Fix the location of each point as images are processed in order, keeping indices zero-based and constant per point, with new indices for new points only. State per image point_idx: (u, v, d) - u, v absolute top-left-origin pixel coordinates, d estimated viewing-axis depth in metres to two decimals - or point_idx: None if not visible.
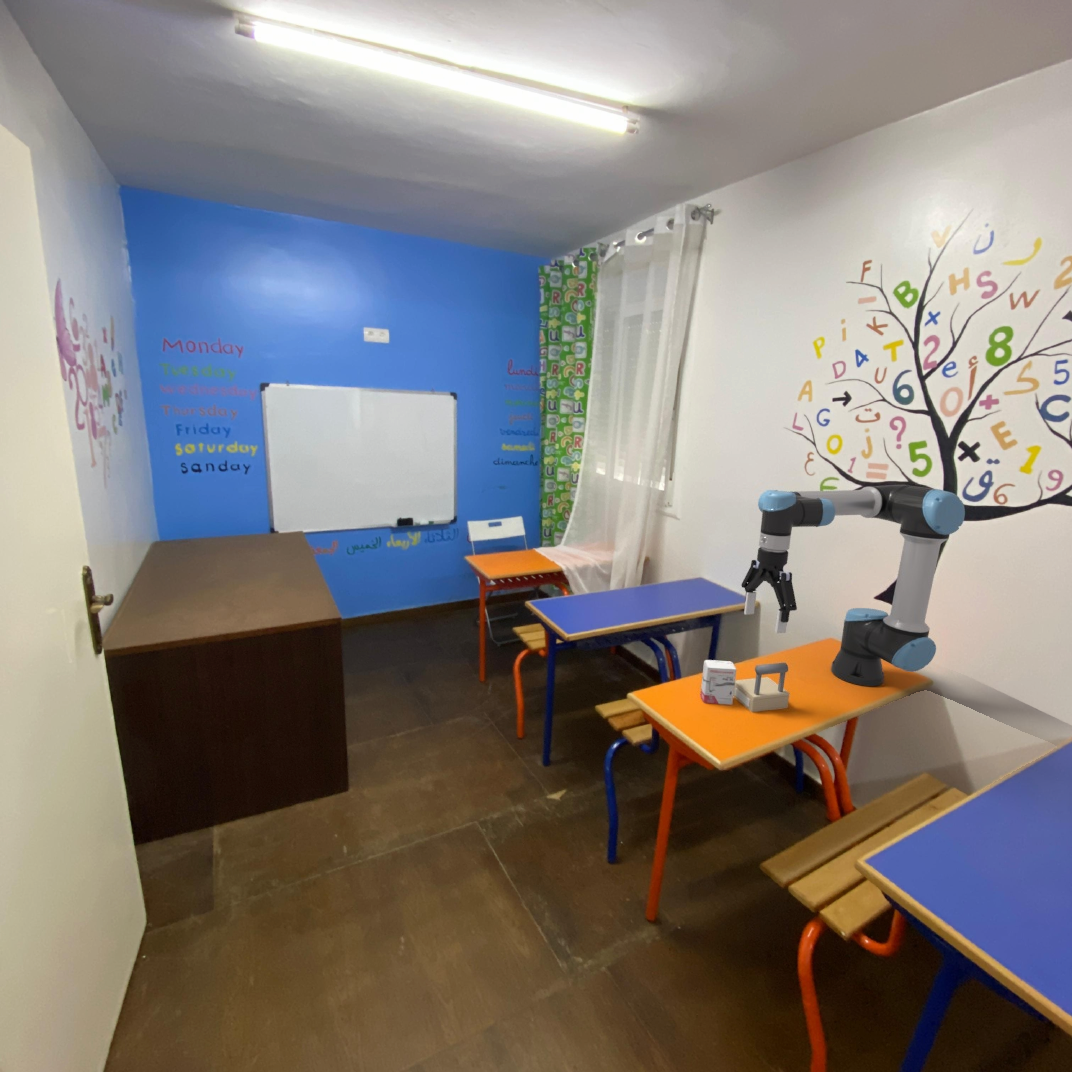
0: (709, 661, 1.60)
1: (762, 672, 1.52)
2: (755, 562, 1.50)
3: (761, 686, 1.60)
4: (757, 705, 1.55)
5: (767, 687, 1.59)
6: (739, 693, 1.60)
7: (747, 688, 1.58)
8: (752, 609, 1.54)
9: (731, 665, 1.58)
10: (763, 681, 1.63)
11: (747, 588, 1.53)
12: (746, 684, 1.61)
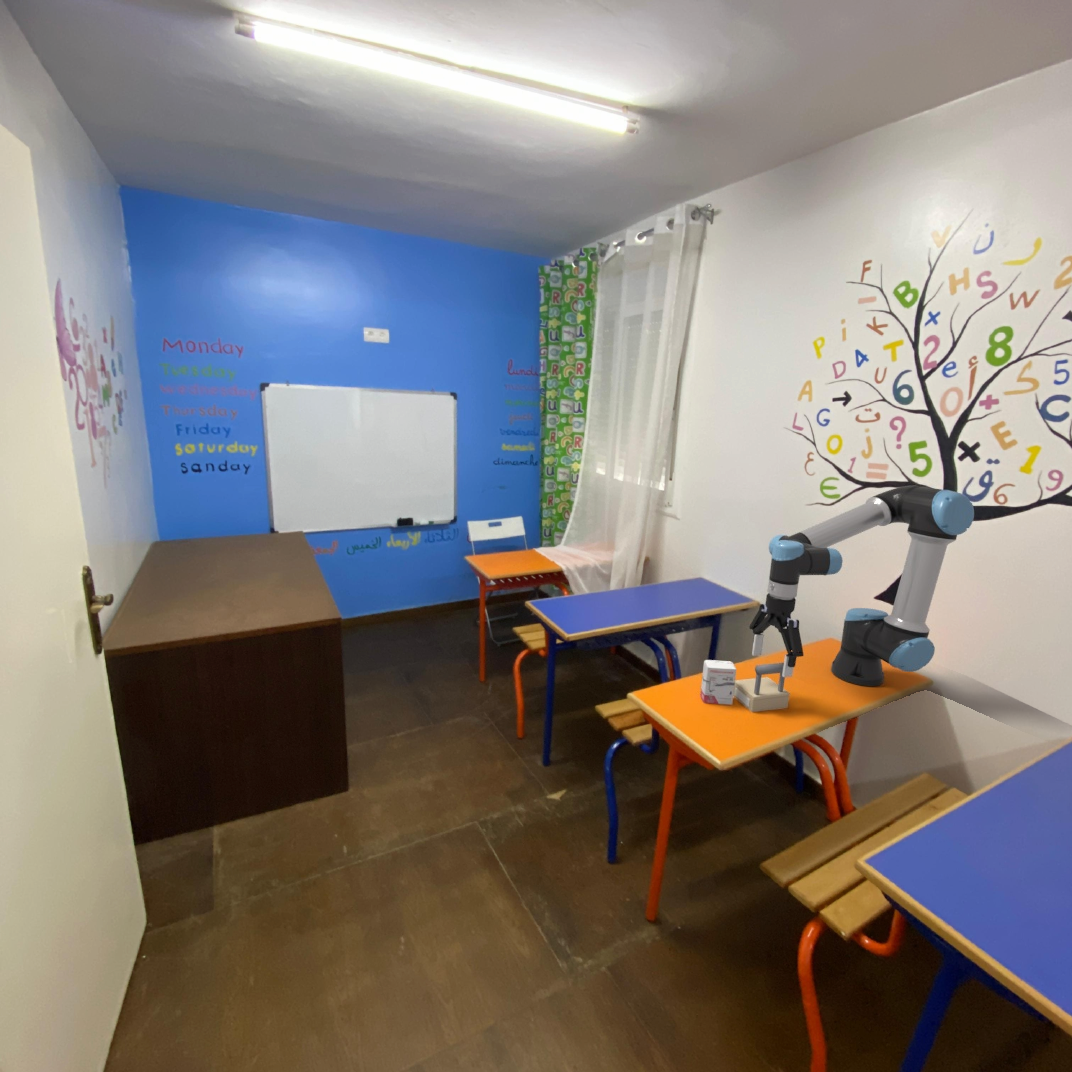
0: (709, 661, 1.60)
1: (762, 672, 1.52)
2: (763, 606, 1.56)
3: (761, 686, 1.60)
4: (757, 705, 1.55)
5: (767, 687, 1.59)
6: (739, 693, 1.60)
7: (747, 688, 1.58)
8: (760, 650, 1.60)
9: (731, 665, 1.58)
10: (763, 681, 1.63)
11: (755, 630, 1.59)
12: (746, 684, 1.61)
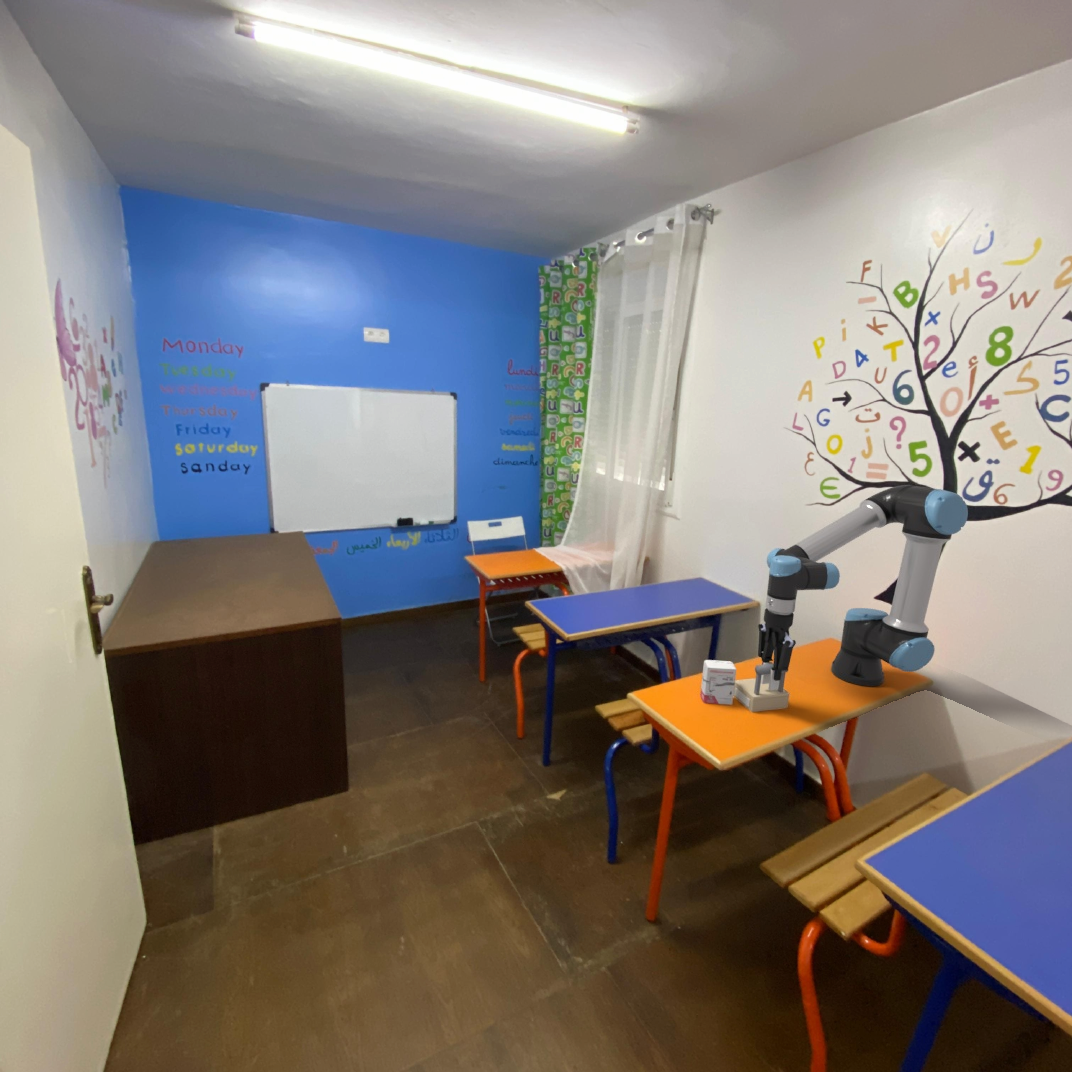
0: (709, 661, 1.60)
1: (762, 672, 1.52)
2: (761, 625, 1.57)
3: (761, 686, 1.60)
4: (757, 705, 1.55)
5: (767, 687, 1.59)
6: (739, 693, 1.60)
7: (747, 688, 1.58)
8: (769, 678, 1.57)
9: (731, 665, 1.58)
10: None
11: (763, 657, 1.56)
12: (746, 684, 1.61)
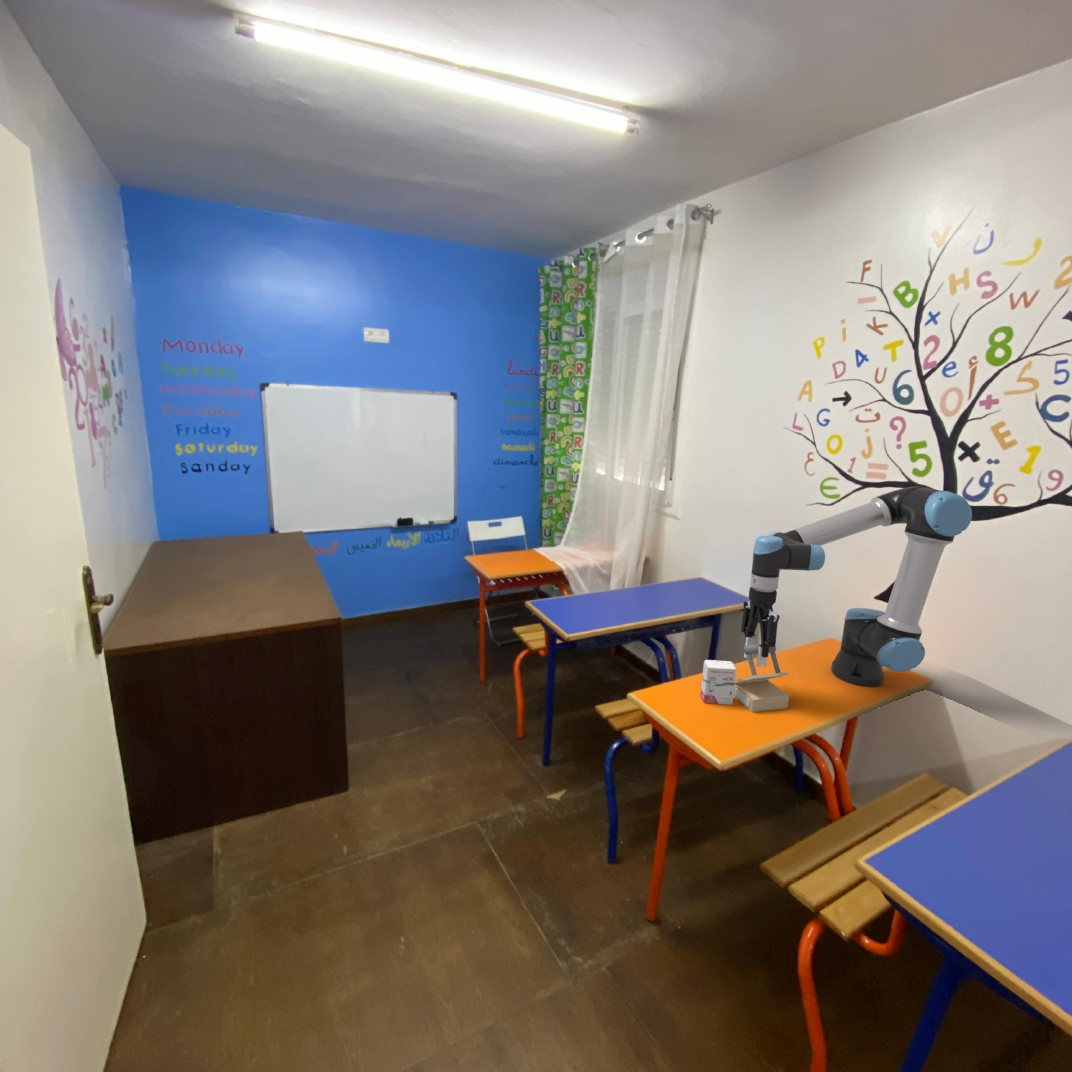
0: (709, 661, 1.60)
1: (750, 649, 1.58)
2: (747, 603, 1.64)
3: None
4: (757, 705, 1.55)
5: None
6: (739, 693, 1.60)
7: None
8: None
9: (731, 665, 1.58)
10: None
11: (746, 632, 1.64)
12: None
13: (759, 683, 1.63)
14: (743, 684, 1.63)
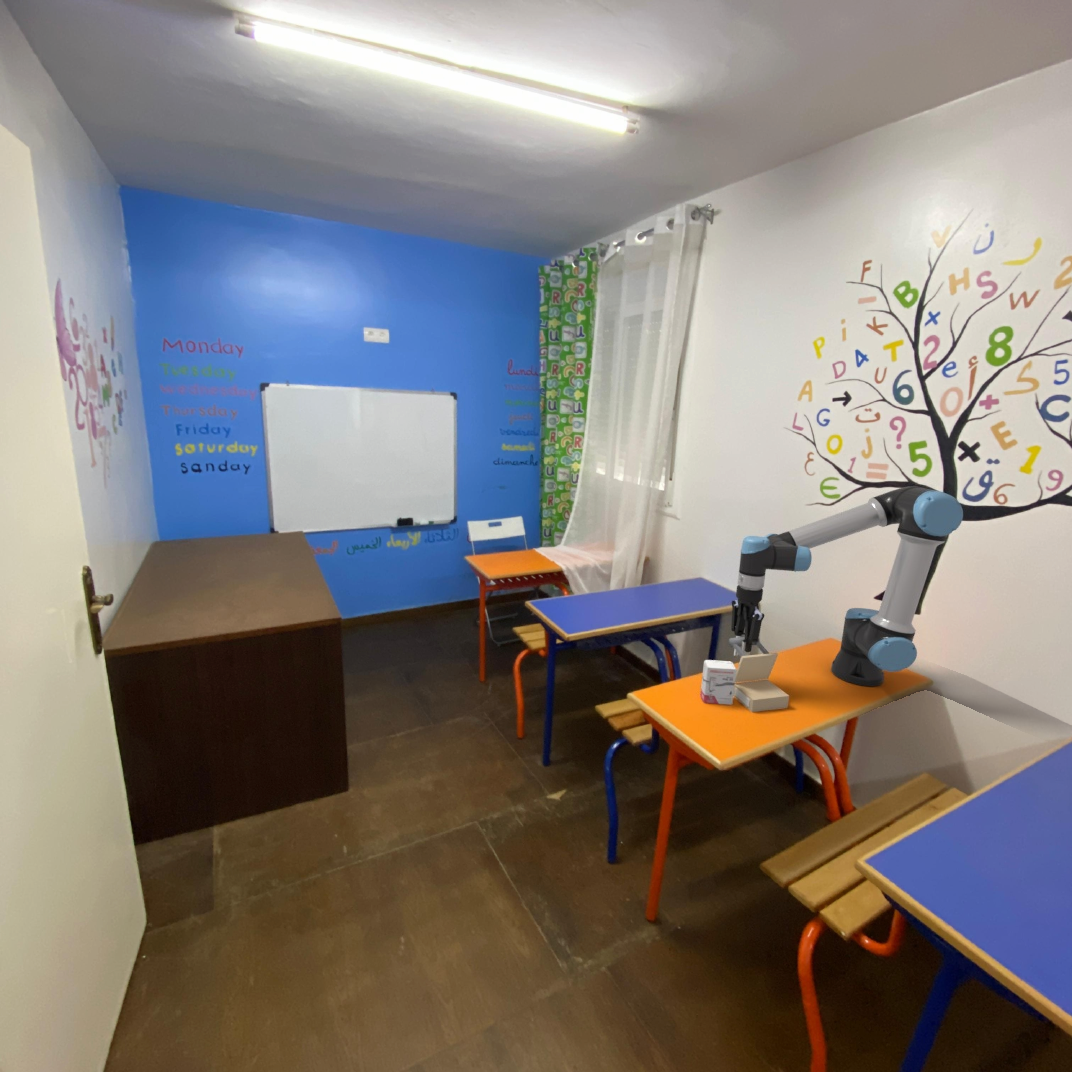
0: (709, 661, 1.60)
1: (734, 639, 1.65)
2: (734, 601, 1.70)
3: None
4: (757, 705, 1.55)
5: None
6: (739, 693, 1.60)
7: None
8: None
9: (731, 665, 1.58)
10: None
11: (736, 631, 1.69)
12: None
13: (759, 683, 1.63)
14: (743, 684, 1.63)
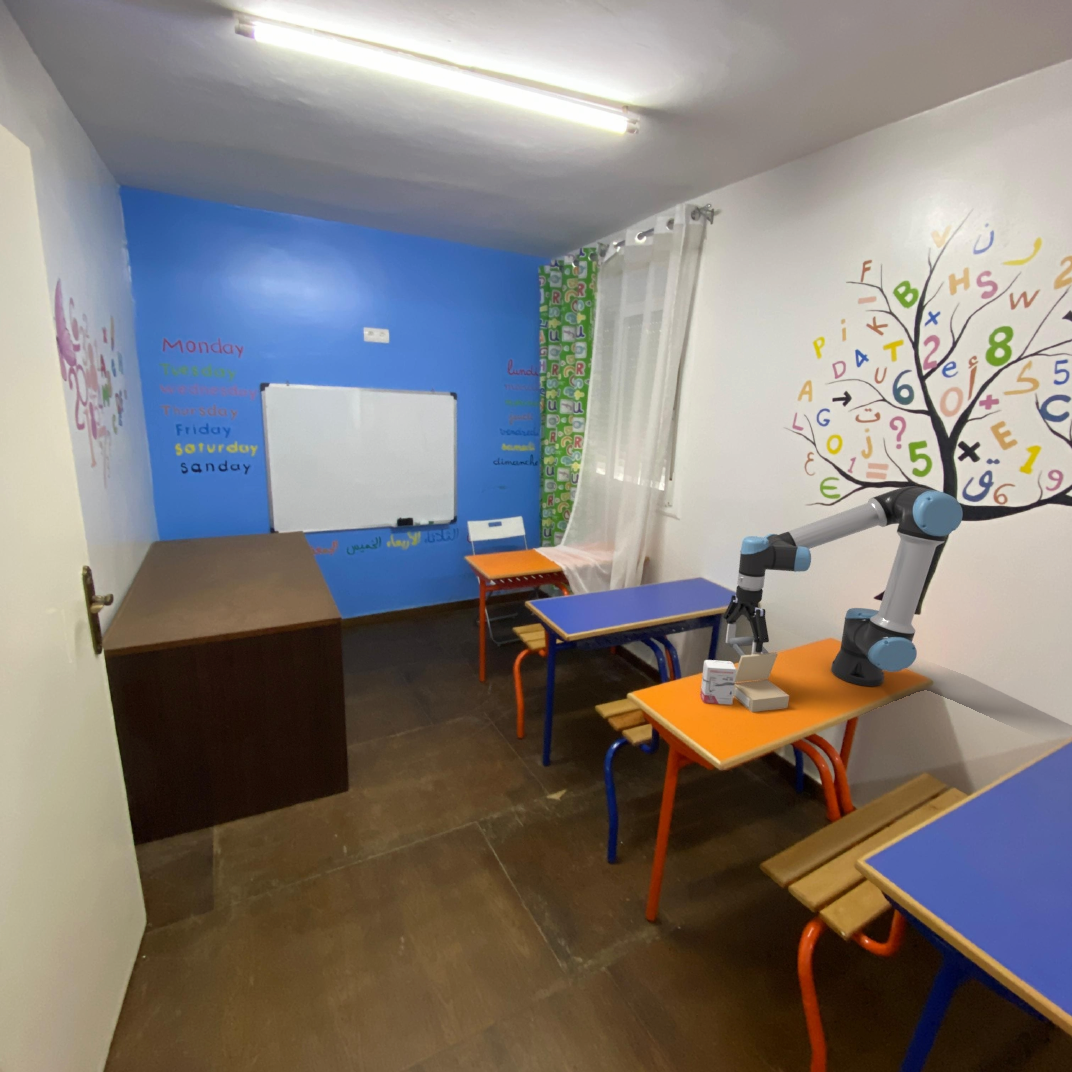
0: (709, 661, 1.60)
1: (733, 639, 1.66)
2: (734, 597, 1.70)
3: None
4: (757, 705, 1.55)
5: None
6: (739, 693, 1.60)
7: None
8: None
9: (731, 665, 1.58)
10: None
11: (728, 620, 1.73)
12: None
13: (759, 683, 1.63)
14: (743, 684, 1.63)
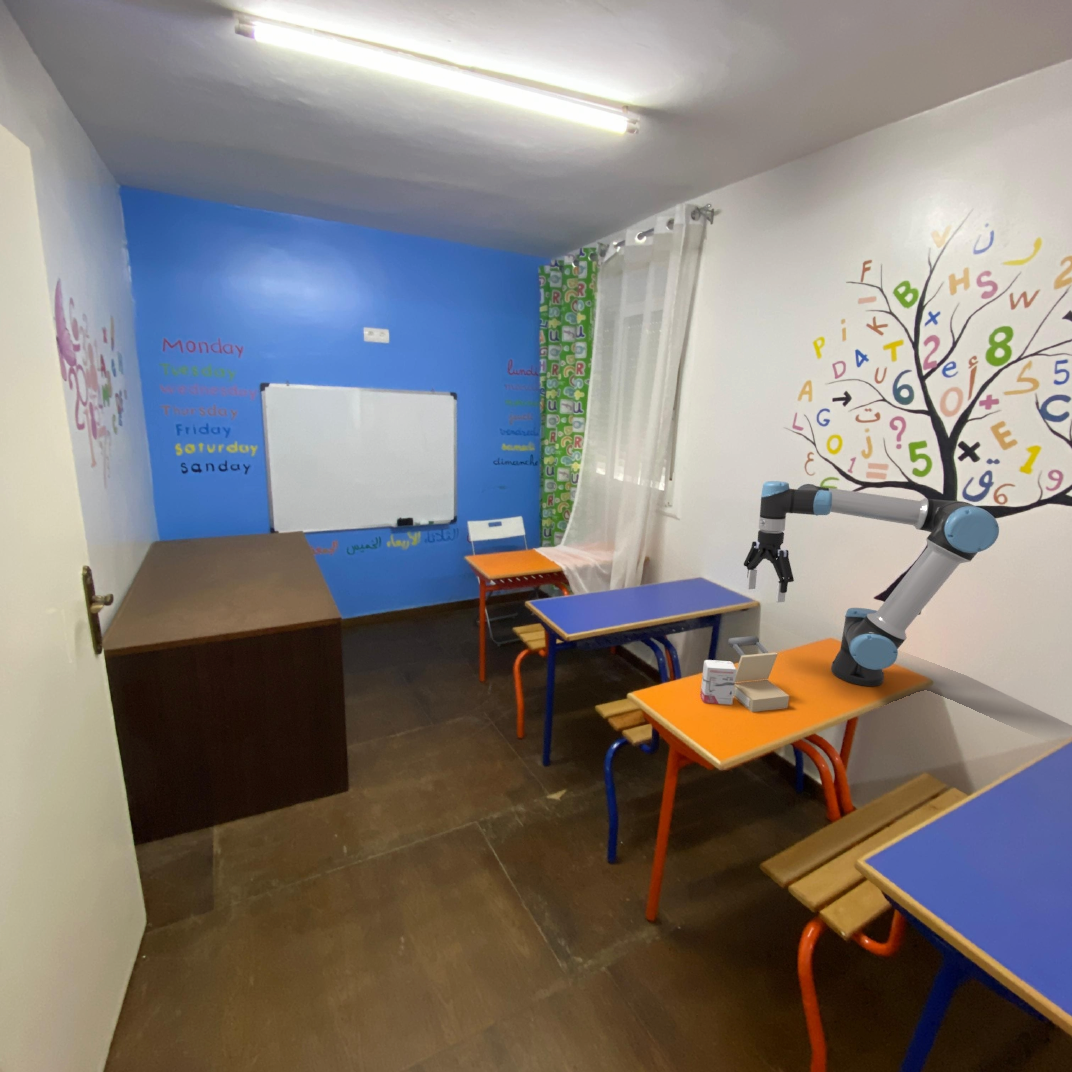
0: (709, 661, 1.60)
1: (733, 639, 1.66)
2: (755, 543, 1.74)
3: None
4: (757, 705, 1.55)
5: None
6: (739, 693, 1.60)
7: None
8: (754, 584, 1.78)
9: (731, 665, 1.58)
10: None
11: (749, 566, 1.77)
12: None
13: (759, 683, 1.63)
14: (743, 684, 1.63)
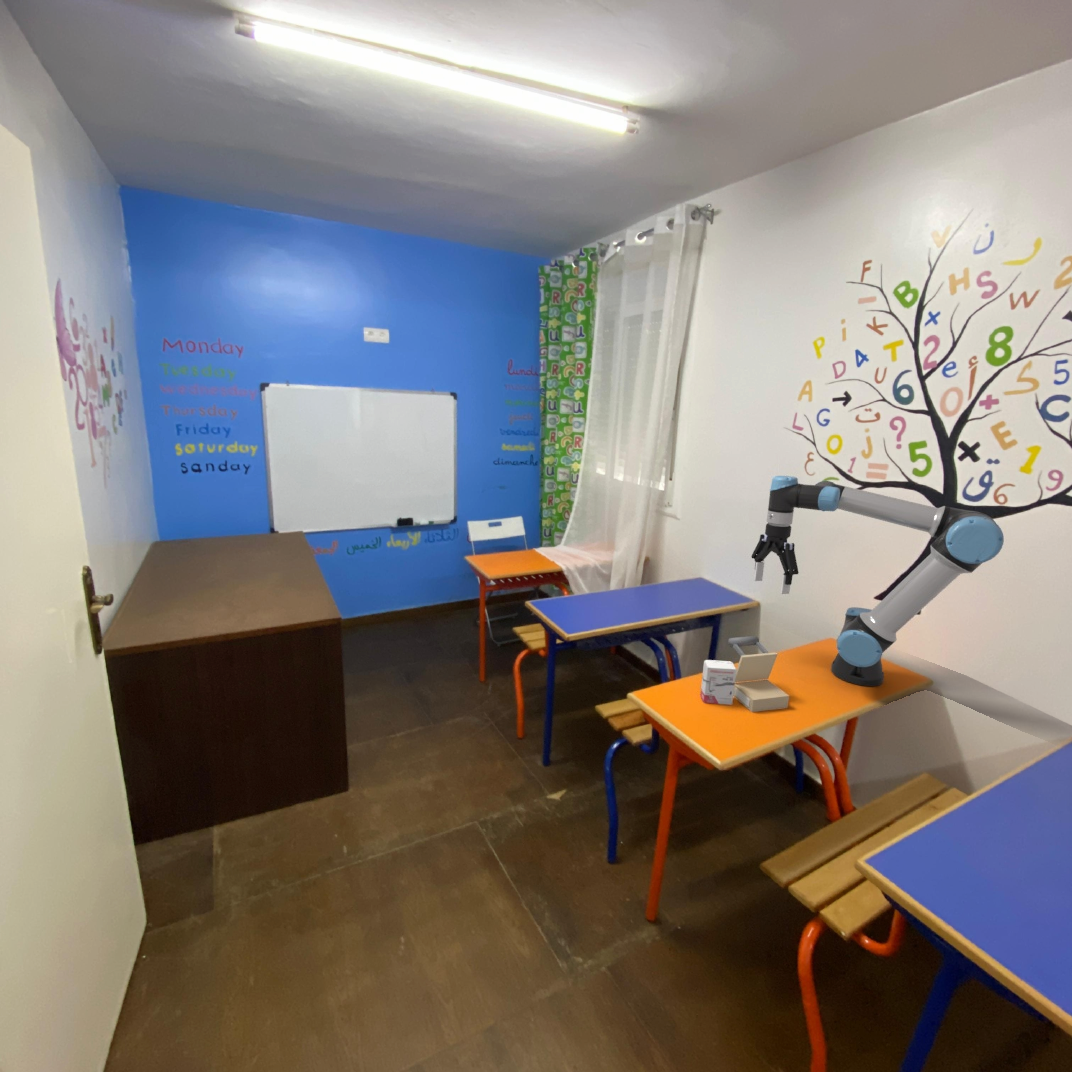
0: (709, 661, 1.60)
1: (733, 639, 1.66)
2: (763, 536, 1.78)
3: None
4: (757, 705, 1.55)
5: None
6: (739, 693, 1.60)
7: None
8: (761, 576, 1.83)
9: (731, 665, 1.58)
10: None
11: (756, 558, 1.82)
12: None
13: (759, 683, 1.63)
14: (743, 684, 1.63)
